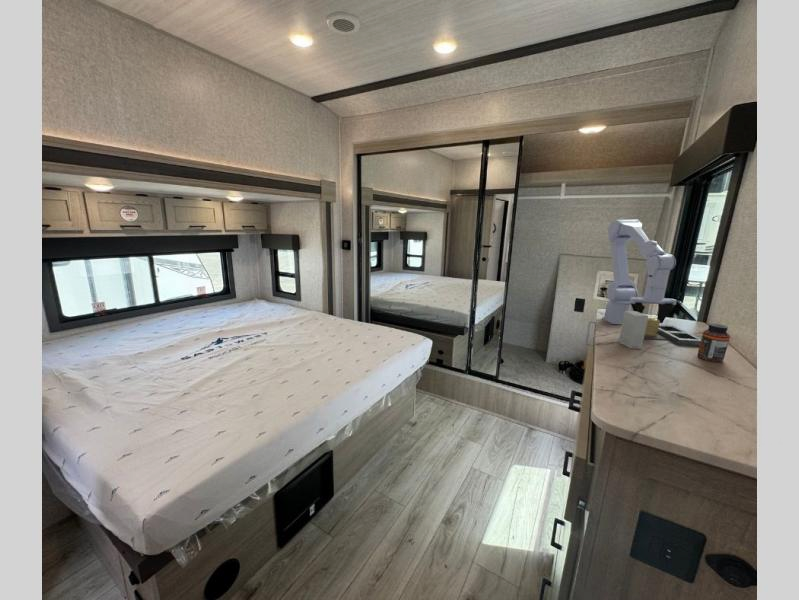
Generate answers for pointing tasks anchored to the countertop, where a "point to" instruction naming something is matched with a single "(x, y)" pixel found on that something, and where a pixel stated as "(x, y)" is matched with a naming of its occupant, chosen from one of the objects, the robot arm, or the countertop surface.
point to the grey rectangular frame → (678, 335)
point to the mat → (655, 337)
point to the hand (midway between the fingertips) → (648, 321)
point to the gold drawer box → (652, 327)
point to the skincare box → (633, 329)
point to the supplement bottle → (714, 343)
